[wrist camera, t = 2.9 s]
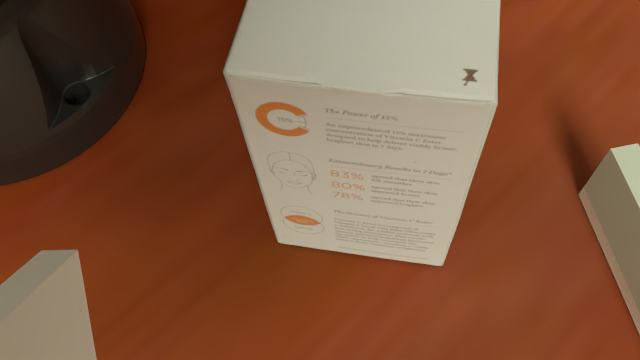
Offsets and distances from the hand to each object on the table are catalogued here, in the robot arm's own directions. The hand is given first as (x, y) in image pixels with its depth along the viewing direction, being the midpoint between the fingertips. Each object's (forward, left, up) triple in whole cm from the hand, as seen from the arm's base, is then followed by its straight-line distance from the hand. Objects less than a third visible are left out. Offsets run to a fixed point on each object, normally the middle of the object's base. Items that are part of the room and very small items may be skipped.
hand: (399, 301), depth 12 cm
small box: (-10, +2, -15) cm, 18 cm away
